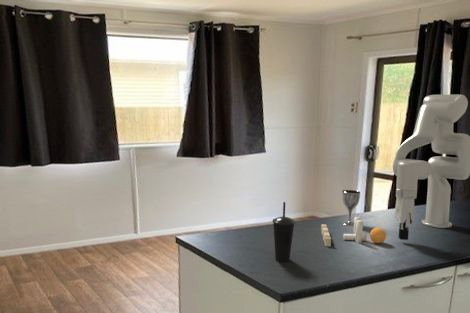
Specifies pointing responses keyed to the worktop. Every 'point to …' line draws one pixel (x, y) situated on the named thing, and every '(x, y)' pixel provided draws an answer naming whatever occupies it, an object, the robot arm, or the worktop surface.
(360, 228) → the pin
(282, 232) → the drinking cup
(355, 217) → the pin
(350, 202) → the wine glass
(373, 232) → the ball
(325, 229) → the back wall
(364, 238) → the front pin
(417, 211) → the worktop surface
